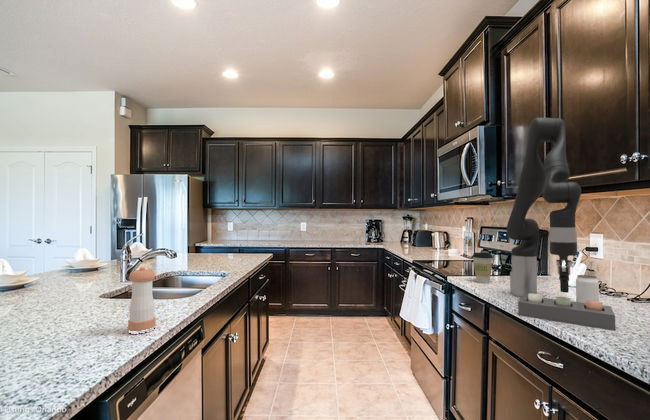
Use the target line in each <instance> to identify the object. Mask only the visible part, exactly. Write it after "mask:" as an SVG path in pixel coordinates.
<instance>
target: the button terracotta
mask: <svg viewBox="0 0 650 420" xmlns="http://www.w3.org/2000/svg"><path fill="white" fill-rule="evenodd" d="M602 305H603V302H601V301H600V300H599V301H592V300H587V301H586V309H591V310H599V311H602Z"/></svg>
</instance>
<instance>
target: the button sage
mask: <svg viewBox="0 0 650 420" xmlns="http://www.w3.org/2000/svg"><path fill="white" fill-rule="evenodd" d="M555 299H556V305H562V306H569V307H571V298H569V297H567V296H556V297H555Z"/></svg>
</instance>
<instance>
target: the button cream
mask: <svg viewBox="0 0 650 420" xmlns="http://www.w3.org/2000/svg"><path fill="white" fill-rule="evenodd" d="M542 298H543V295H542V294H539V293H537V294H535V293H529V294H528V301H532V302H539V303H542Z"/></svg>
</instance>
